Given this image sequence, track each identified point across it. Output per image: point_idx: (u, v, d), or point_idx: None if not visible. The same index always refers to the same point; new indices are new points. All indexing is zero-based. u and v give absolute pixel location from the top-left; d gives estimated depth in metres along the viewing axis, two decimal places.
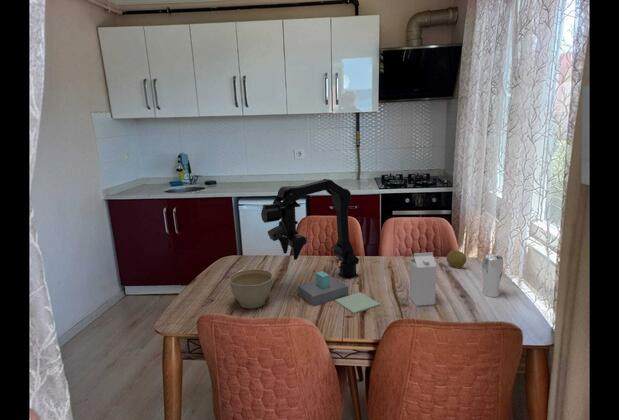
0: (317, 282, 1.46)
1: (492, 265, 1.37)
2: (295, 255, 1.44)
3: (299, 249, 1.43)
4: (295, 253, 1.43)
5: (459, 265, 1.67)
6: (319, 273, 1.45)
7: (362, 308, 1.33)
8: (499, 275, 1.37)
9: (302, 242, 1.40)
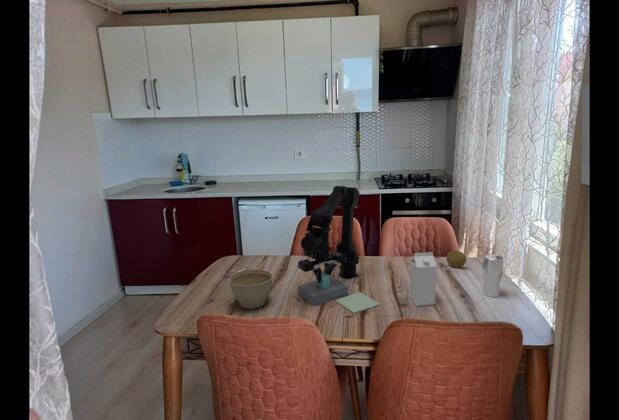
0: (317, 282, 1.46)
1: (492, 265, 1.37)
2: (316, 278, 1.44)
3: (317, 274, 1.42)
4: None
5: (459, 265, 1.67)
6: None
7: (362, 308, 1.33)
8: (499, 275, 1.37)
9: (302, 268, 1.38)
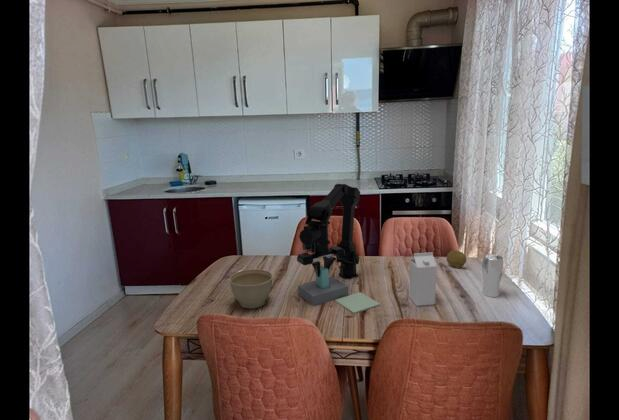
0: (316, 276, 1.46)
1: (492, 265, 1.37)
2: None
3: (316, 268, 1.42)
4: (315, 269, 1.44)
5: (459, 265, 1.67)
6: None
7: (362, 308, 1.33)
8: (499, 275, 1.37)
9: (301, 261, 1.38)
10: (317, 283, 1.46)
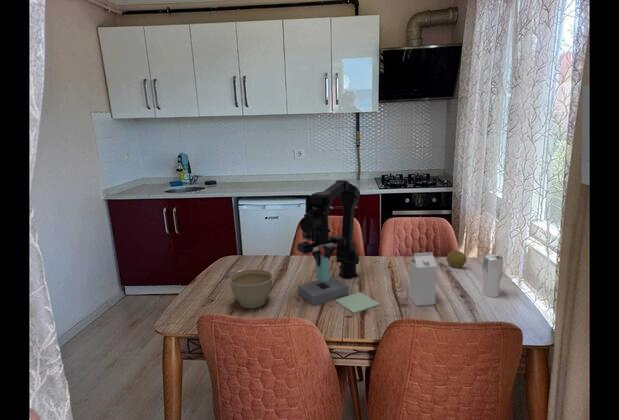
0: (316, 266, 1.45)
1: (492, 265, 1.37)
2: (316, 261, 1.43)
3: (316, 257, 1.40)
4: (315, 259, 1.42)
5: (459, 265, 1.67)
6: None
7: (362, 308, 1.33)
8: (499, 275, 1.37)
9: (301, 250, 1.37)
10: (317, 272, 1.45)
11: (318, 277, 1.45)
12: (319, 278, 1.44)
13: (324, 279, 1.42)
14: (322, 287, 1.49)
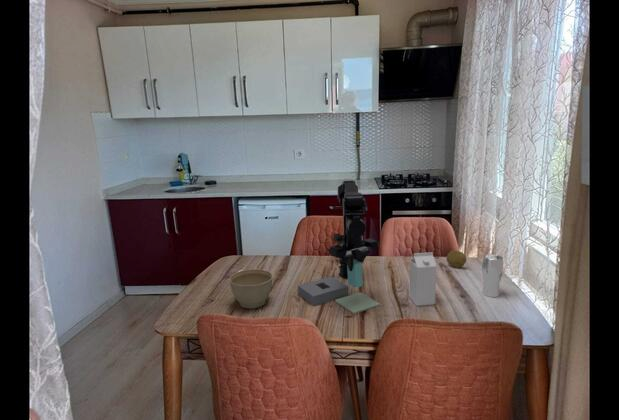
0: (348, 271, 1.37)
1: (492, 265, 1.37)
2: (348, 265, 1.35)
3: (349, 261, 1.33)
4: (347, 263, 1.35)
5: (459, 265, 1.67)
6: None
7: (362, 308, 1.33)
8: (499, 275, 1.37)
9: (333, 254, 1.29)
10: (349, 278, 1.37)
11: (350, 282, 1.37)
12: (351, 283, 1.36)
13: (357, 285, 1.34)
14: (322, 287, 1.49)
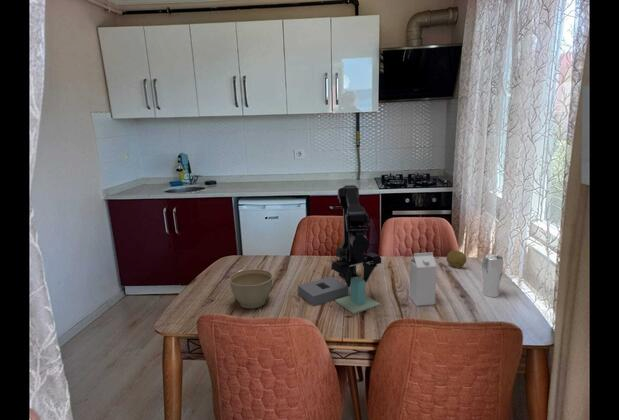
0: (351, 288, 1.38)
1: (492, 265, 1.37)
2: (346, 281, 1.35)
3: (347, 277, 1.33)
4: (345, 279, 1.35)
5: (459, 265, 1.67)
6: (354, 279, 1.37)
7: (362, 308, 1.33)
8: (499, 275, 1.37)
9: (337, 269, 1.30)
10: (352, 295, 1.38)
11: (353, 300, 1.38)
12: (354, 301, 1.38)
13: (360, 302, 1.36)
14: (322, 287, 1.49)
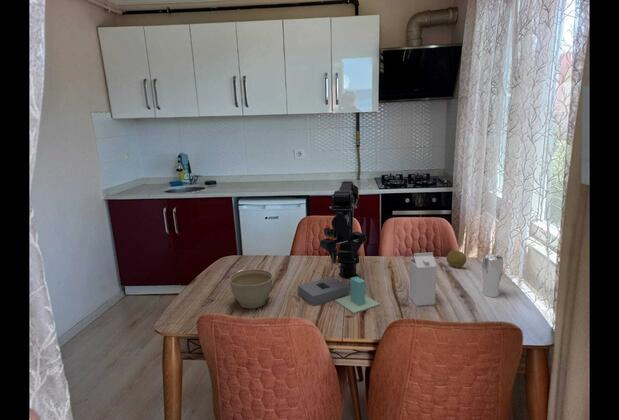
0: (351, 288, 1.38)
1: (492, 265, 1.37)
2: (332, 258, 1.45)
3: (332, 254, 1.42)
4: (331, 256, 1.44)
5: (459, 265, 1.67)
6: (354, 279, 1.37)
7: (362, 308, 1.33)
8: (499, 275, 1.37)
9: (324, 247, 1.40)
10: (352, 295, 1.38)
11: (353, 300, 1.38)
12: (354, 301, 1.38)
13: (360, 302, 1.36)
14: (322, 287, 1.49)
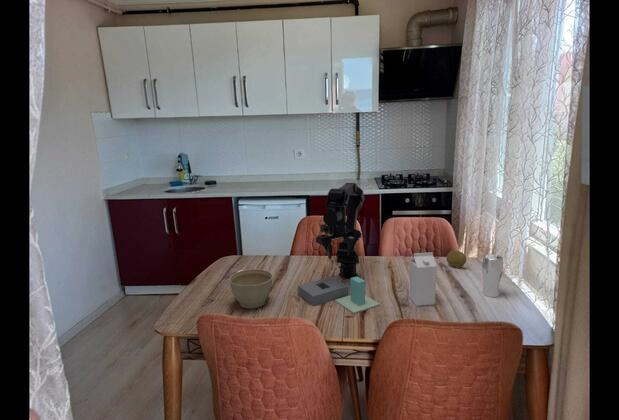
0: (351, 288, 1.38)
1: (492, 265, 1.37)
2: (327, 254, 1.48)
3: (328, 250, 1.46)
4: (326, 252, 1.48)
5: (459, 265, 1.67)
6: (354, 279, 1.37)
7: (362, 308, 1.33)
8: (499, 275, 1.37)
9: (320, 242, 1.44)
10: (352, 295, 1.38)
11: (353, 300, 1.38)
12: (354, 301, 1.38)
13: (360, 302, 1.36)
14: (322, 287, 1.49)
